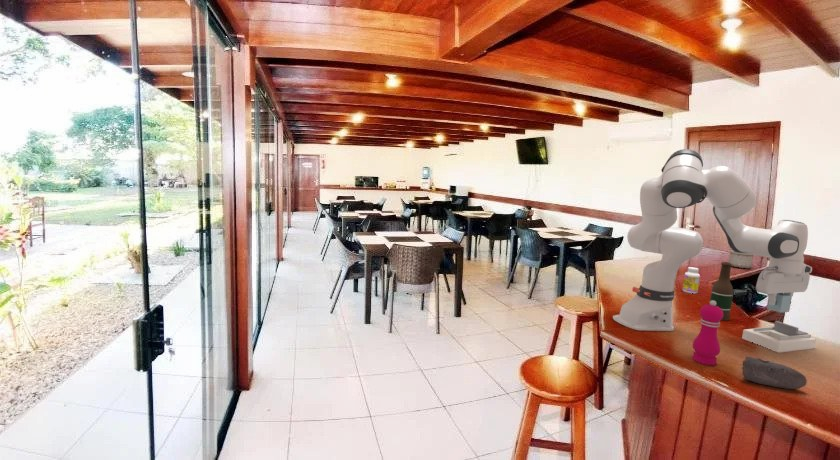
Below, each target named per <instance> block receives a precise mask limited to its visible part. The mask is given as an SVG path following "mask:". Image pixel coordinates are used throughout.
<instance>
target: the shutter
mask: <svg viewBox="0 0 840 460" xmlns="http://www.w3.org/2000/svg"><path fill="white" fill-rule="evenodd" d="M773 326H774V330H777V331H779V332H782V333H785V334H788V335H791V336H794V335H805V334H809V333H808V332H806V331H802V330H800V329H799V327H798V326H797V327H796V326H794V325H791V324H788V323H785V322H783V321H782V322H781V321H779V320H775V321H774V324H773Z"/></svg>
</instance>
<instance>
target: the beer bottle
mask: <svg viewBox="0 0 840 460" xmlns="http://www.w3.org/2000/svg"><path fill="white" fill-rule="evenodd" d="M720 265H721V268H720V272H719V275H718V279H717V281H715V282H714V283H713V285H712V287H711V292H710V300H709V302H710V301H712V300H714V301H716V303H717V304H716V305H715V306H718V307H719V308H721V309H722V311H723V318H722V319H721V320H720V321H729V320H730V316H731V309H732V304H733V303H732V302H733V297H734V289H733V288H734V287H733V285H732V283H731V281H730V280H731V268H732V267H733V266H732V264H731V263H729V261H721V264H720ZM708 305H710V303H709V304H708Z"/></svg>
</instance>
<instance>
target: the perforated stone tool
mask: <svg viewBox="0 0 840 460" xmlns="http://www.w3.org/2000/svg"><path fill="white" fill-rule="evenodd" d="M741 369H742V370H741V371H742V376H743V378H744V379H745V380H746V381H750V382H752V383H755V384H759V385H763V386H769V387H774V388H780V389H787V390H798V389H801V388H805V386H806V385H807V377H806V376H805V375H804V374H803V373H802V372H800V371H798V370H796V369H794V368H792V367H789V366H787V365H784V364H782V363H778V362H774V361H770V360H765V359H762V358H758V357H752V356H748V355H747V356H746V357H745V359H744V360H742V367H741Z"/></svg>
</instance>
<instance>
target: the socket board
mask: <svg viewBox="0 0 840 460" xmlns="http://www.w3.org/2000/svg"><path fill="white" fill-rule="evenodd" d="M741 336H742V337H741V339H742V340H745V341H748V342H750V343H752V342H753V343H752V344H755V345H757V344H758V345H757V346H760V345H761V346H760V347H762V346H764V347H763V348H765V347H766V348H765V349H767V348H768V350H770V349H771V351H772V352H775V353H786V352H795V351H805V350H813V349H815V346H816V342H817V341H816V340H817V339H816V338H814V337H811V336H812V334H810V333H808V334H805V335H794V336H791V335H788V334H785V333H782V332H779V331H777V330H774V325H773V326H763V327H761V326H760V327H754V328H747V329H743V331H742V335H741Z"/></svg>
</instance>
